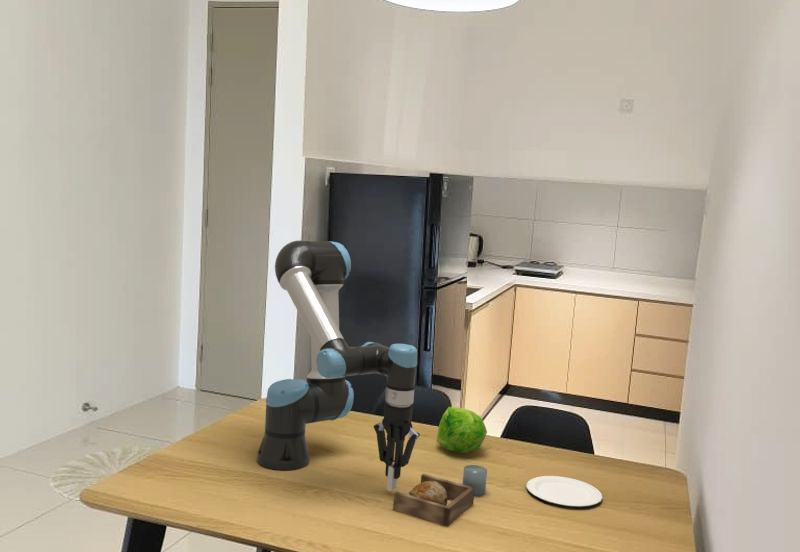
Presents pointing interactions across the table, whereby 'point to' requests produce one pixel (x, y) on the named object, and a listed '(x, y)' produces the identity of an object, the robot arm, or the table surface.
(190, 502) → the table surface
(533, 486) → the plate
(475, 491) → the grey-blue cylinder
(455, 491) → the corral
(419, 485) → the bread roll
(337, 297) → the robot arm
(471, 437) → the lettuce
